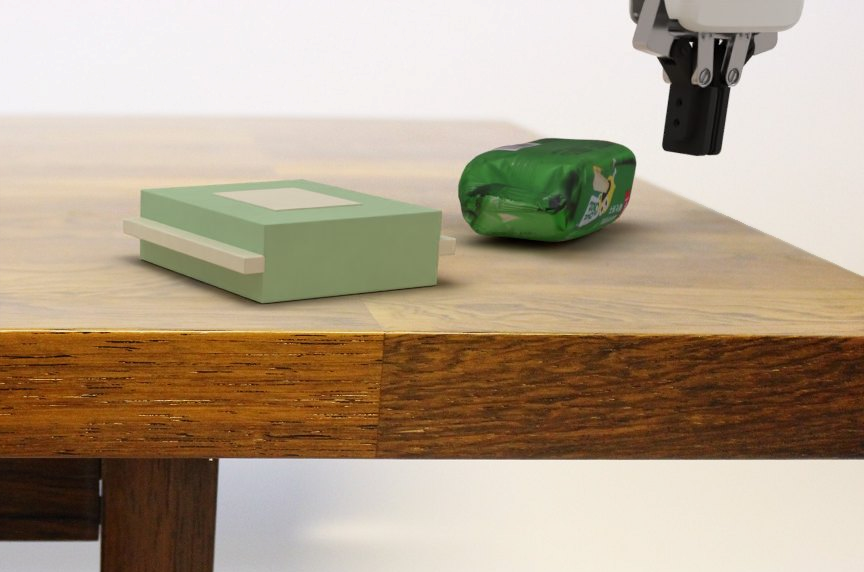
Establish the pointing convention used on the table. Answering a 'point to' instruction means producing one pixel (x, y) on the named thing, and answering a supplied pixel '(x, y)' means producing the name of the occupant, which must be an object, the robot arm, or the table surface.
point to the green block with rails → (289, 239)
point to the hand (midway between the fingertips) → (690, 152)
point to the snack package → (547, 188)
